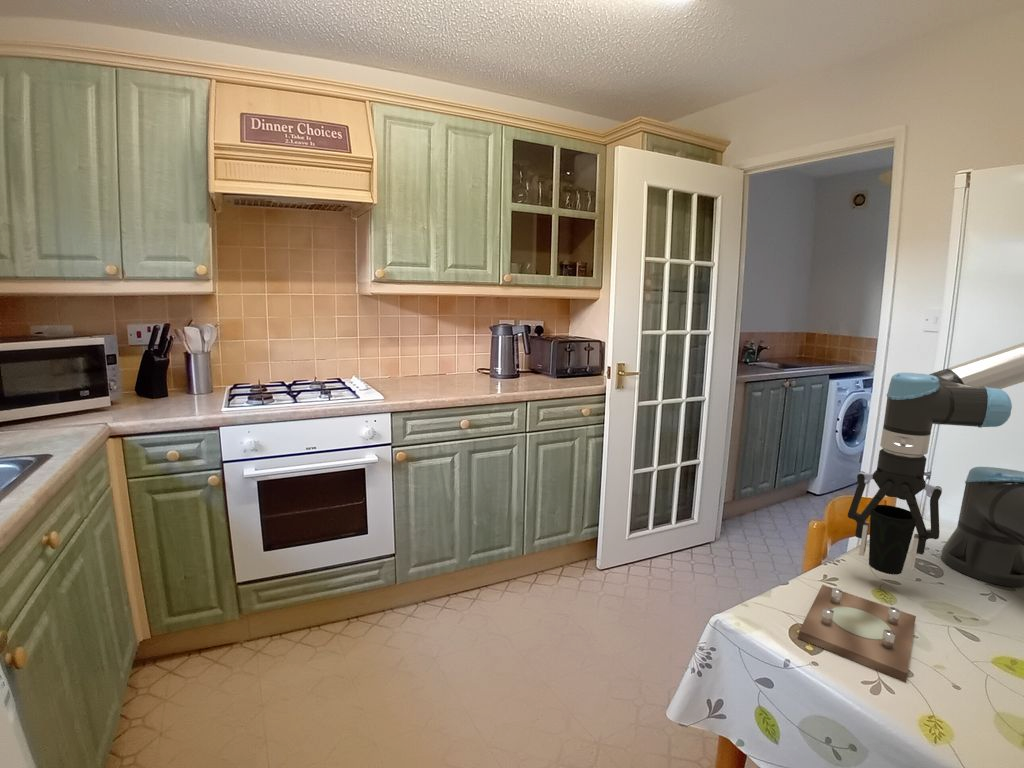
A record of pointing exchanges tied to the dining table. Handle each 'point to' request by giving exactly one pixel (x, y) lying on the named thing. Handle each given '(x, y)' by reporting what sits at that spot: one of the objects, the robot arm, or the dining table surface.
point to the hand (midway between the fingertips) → (886, 559)
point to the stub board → (860, 631)
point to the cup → (889, 538)
